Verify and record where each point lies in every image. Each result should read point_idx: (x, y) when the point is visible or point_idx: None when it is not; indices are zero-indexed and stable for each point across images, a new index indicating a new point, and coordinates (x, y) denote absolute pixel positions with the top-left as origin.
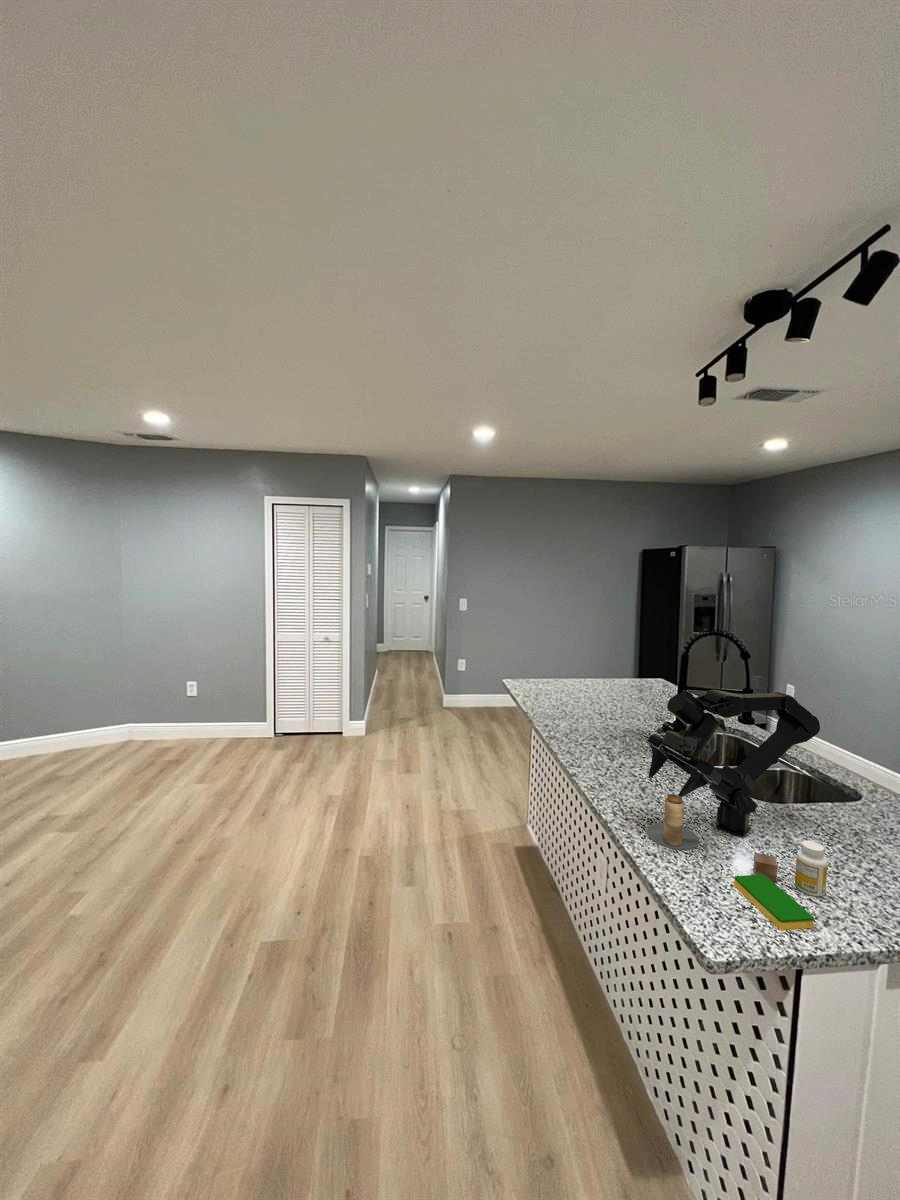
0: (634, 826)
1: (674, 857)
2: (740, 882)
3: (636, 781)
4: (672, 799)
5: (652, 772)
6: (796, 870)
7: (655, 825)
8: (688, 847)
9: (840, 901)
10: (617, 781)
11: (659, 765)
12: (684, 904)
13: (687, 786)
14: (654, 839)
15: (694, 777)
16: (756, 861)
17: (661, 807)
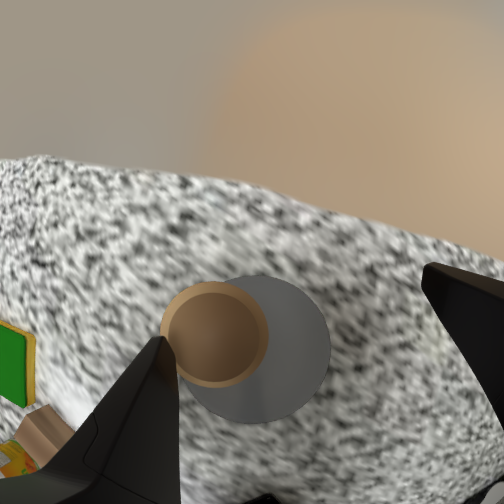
0: (332, 271)
1: (152, 280)
2: (9, 330)
3: None
4: (188, 300)
5: (446, 284)
6: (10, 456)
7: (319, 334)
8: None
9: None
10: None
11: (488, 360)
12: (30, 184)
13: (104, 399)
14: (244, 278)
15: (44, 479)
16: (26, 415)
17: (402, 408)
